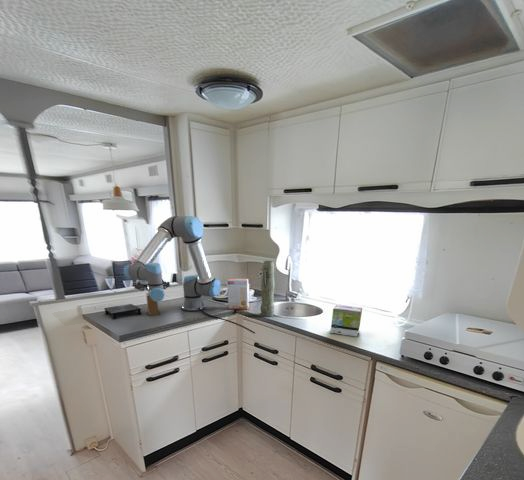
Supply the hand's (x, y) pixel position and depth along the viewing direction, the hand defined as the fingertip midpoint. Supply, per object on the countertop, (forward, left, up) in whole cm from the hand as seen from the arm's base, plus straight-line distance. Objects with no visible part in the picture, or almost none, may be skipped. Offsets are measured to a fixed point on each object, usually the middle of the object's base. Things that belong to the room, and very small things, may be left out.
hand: (151, 282), depth 201 cm
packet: (+9, -3, -22) cm, 24 cm away
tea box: (-97, -70, -22) cm, 122 cm away
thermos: (-42, -60, -22) cm, 77 cm away
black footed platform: (+20, +13, -22) cm, 33 cm away
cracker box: (-17, -55, -23) cm, 62 cm away
